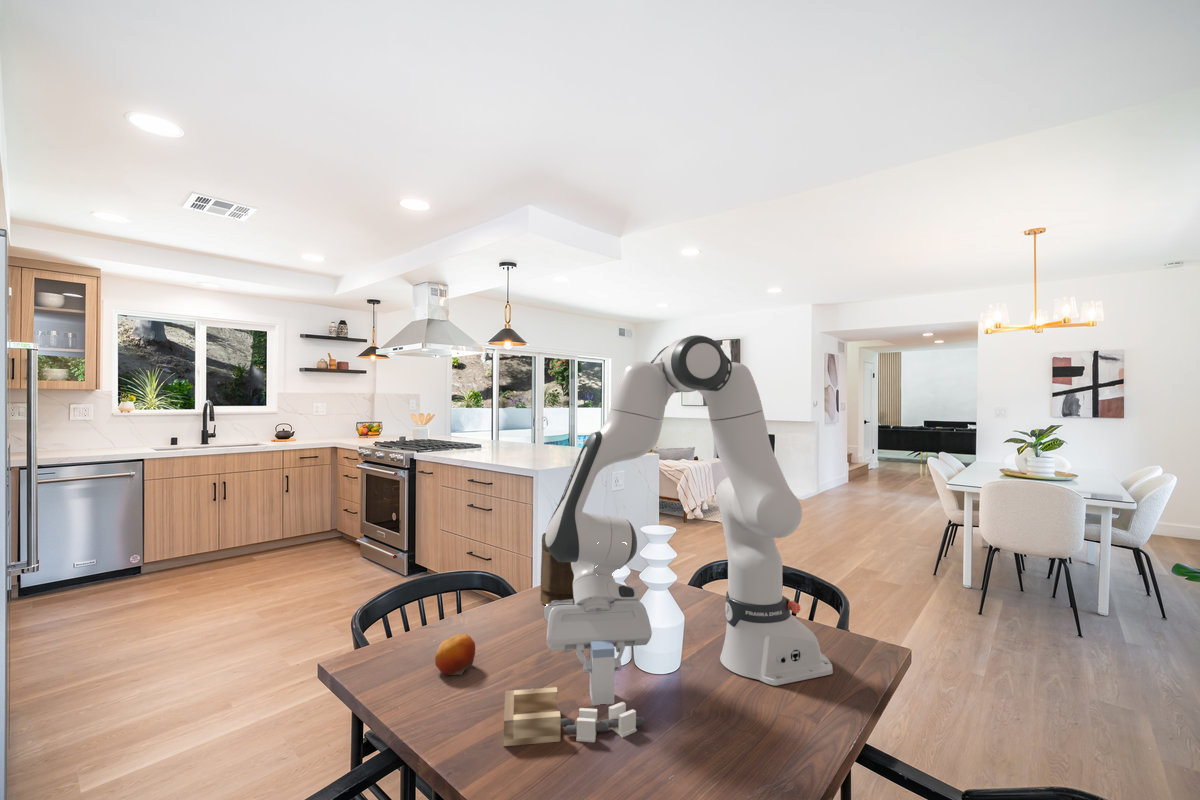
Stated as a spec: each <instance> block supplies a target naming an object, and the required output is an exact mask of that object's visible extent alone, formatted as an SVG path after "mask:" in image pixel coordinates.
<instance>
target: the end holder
mask: <svg viewBox="0 0 1200 800" xmlns="http://www.w3.org/2000/svg"><path fill="white" fill-rule="evenodd" d="M504 692H505V694H504V710H503V711H504V712H503V747H511V746H520V745H521V746H522V745H523V746H524V745H532V744H545V743H554V742H555V743H556V742H561V727H560V721H561V719H562V718H561V717H562V716H561V711H560V710H558V687H556V686H555V687H542V688H540V687H539V688H529V689H527V688H526V689H514V690H505V691H504Z"/></svg>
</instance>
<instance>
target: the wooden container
mask: <svg viewBox="0 0 1200 800" xmlns="http://www.w3.org/2000/svg"><path fill="white" fill-rule="evenodd" d="M545 535H546V532H544V533H542V536H541V557H540V558H541V560H540V561H541V562H540V602H542V603H543V604H544V605H543V604H542V603H541V604H542V605H543V606H545V605H547V604H548V603H551V601H554V600H558V601H562V600H570V599H573V580H574V574H573V571H572V568H571V562H558V561H557V560H556V559H555V558H554V557H553V556H552V555H551V554H550V552H549V551H548V549H547V548H546V545H545ZM549 606H551V605H549Z"/></svg>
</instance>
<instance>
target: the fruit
mask: <svg viewBox="0 0 1200 800" xmlns="http://www.w3.org/2000/svg"><path fill="white" fill-rule="evenodd" d="M434 656H435V658H434V663H435V666H436V668H437V669H438V670H439V671H440V673H442V674H444V675H446V676H447V675H448V676H454V675H461V676H463V673H464V672H465V670H467V668H474V669H476V667H475V666H474V665H473V663H474V661H475V660H474V659H475V656H476V643H475V640H474V639H473V638H472V637H471V636H470V635H468V634H467V633H463V634H462V633H458V634H456V635H452V637H448V638H447V639H445V640H443V641H442V642H440V644H439V647H438V648H437V650H436V654H435V655H434Z"/></svg>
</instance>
